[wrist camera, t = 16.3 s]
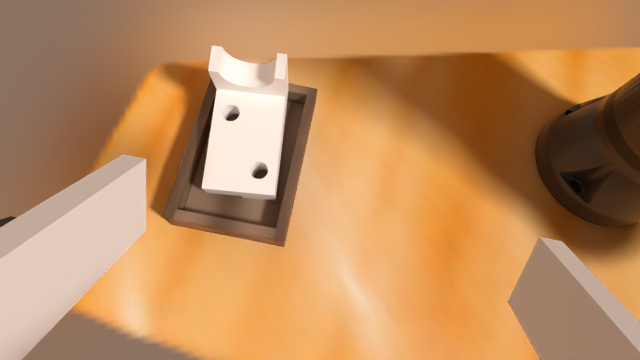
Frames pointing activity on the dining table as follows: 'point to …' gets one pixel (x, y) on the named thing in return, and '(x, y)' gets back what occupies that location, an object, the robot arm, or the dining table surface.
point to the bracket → (246, 126)
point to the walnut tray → (248, 213)
